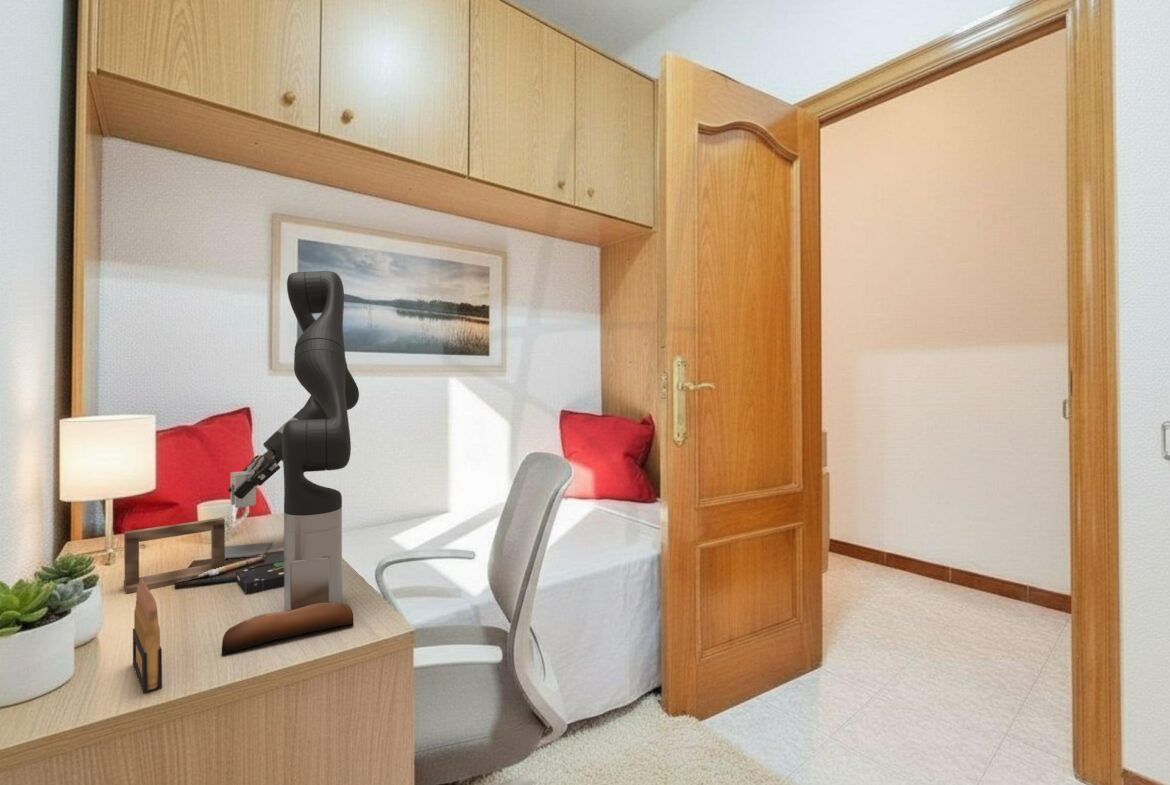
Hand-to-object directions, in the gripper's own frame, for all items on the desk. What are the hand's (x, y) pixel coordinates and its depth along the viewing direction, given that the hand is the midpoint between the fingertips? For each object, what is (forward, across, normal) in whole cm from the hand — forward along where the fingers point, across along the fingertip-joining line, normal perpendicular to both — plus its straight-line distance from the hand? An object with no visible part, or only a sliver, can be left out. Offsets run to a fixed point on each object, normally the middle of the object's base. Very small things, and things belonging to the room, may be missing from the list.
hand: (234, 494), depth 125 cm
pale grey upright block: (+1, 0, +3) cm, 3 cm away
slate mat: (+9, 0, +11) cm, 14 cm away
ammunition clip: (+25, +54, -5) cm, 59 cm away
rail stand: (+18, +11, +1) cm, 22 cm away
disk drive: (+8, +26, +12) cm, 30 cm away
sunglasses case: (+12, +52, +8) cm, 55 cm away
